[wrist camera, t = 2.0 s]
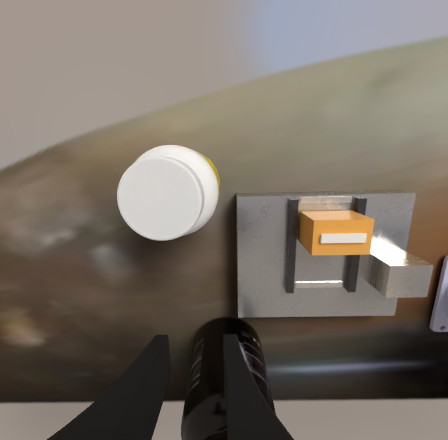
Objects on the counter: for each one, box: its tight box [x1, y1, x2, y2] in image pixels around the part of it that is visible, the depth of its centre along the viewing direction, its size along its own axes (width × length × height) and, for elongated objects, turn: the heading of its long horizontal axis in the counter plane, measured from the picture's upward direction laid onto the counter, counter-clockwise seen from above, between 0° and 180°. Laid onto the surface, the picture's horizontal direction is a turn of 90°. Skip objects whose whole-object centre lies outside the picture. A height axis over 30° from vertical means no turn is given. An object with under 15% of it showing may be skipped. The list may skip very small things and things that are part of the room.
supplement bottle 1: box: [117, 145, 220, 241], centre depth 16 cm, size 5×5×10 cm
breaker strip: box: [236, 190, 433, 318], centre depth 19 cm, size 14×11×5 cm
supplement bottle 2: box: [181, 317, 276, 440], centre depth 18 cm, size 7×7×12 cm
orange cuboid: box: [299, 210, 375, 256], centre depth 17 cm, size 4×2×3 cm, turn 91°
